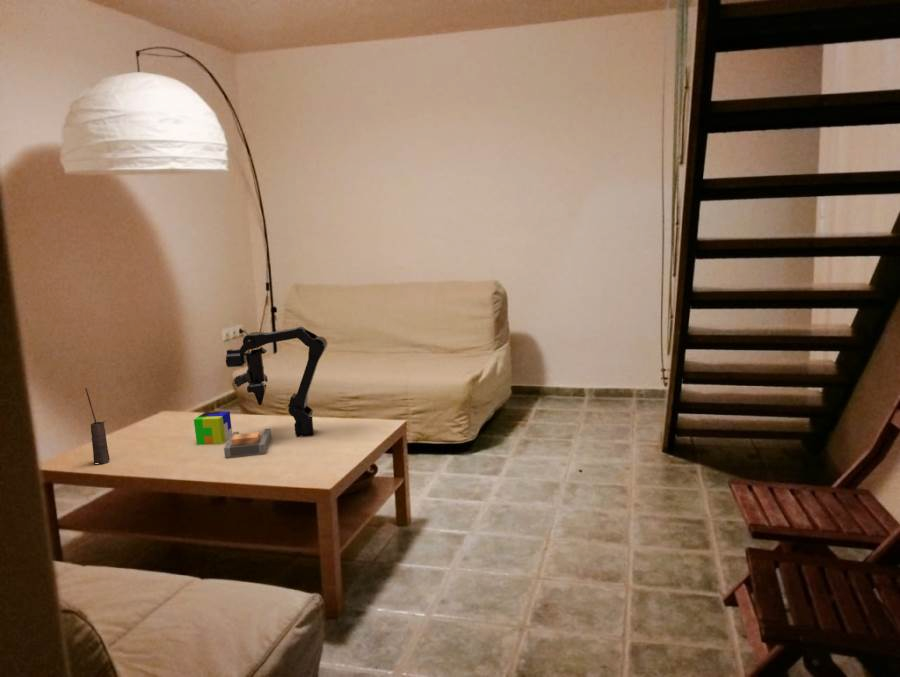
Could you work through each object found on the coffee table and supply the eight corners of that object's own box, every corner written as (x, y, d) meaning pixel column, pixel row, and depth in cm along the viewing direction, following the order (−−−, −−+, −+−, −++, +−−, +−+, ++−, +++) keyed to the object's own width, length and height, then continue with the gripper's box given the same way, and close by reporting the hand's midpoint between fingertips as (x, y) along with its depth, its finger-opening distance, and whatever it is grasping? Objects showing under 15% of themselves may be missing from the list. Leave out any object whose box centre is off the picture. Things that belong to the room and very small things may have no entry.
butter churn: (124, 456, 256) (113, 383, 251) (111, 465, 246) (99, 389, 242) (99, 457, 256) (88, 384, 251) (85, 467, 247) (73, 390, 242)
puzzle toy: (232, 435, 274) (229, 411, 272) (221, 443, 264) (218, 418, 262) (208, 436, 275) (205, 412, 273) (196, 444, 265) (193, 419, 263)
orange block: (261, 445, 256) (259, 432, 256) (258, 450, 251) (257, 437, 250) (235, 447, 255) (234, 434, 254) (232, 452, 249) (231, 439, 249)
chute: (271, 437, 268) (270, 428, 268) (265, 454, 249) (264, 444, 248) (234, 440, 267) (233, 431, 266) (225, 458, 247) (224, 448, 246)
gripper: (236, 363, 273) (241, 401, 276) (230, 372, 255) (236, 413, 257) (265, 360, 275) (270, 398, 278) (261, 369, 257) (266, 409, 259)
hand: (260, 404), depth 268 cm, fingers closed
